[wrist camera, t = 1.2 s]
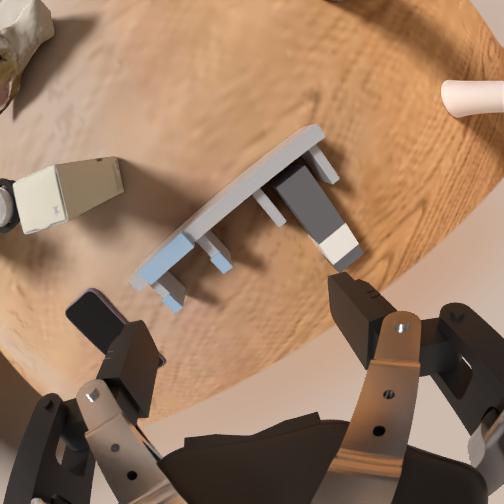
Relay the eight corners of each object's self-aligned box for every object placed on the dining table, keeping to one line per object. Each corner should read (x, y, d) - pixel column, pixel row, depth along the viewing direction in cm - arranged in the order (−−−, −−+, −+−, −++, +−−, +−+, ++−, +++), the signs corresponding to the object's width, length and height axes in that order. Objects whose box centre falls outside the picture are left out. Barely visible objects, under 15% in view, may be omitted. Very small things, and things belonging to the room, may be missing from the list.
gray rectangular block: (268, 183, 30) (276, 188, 26) (294, 163, 29) (305, 165, 26) (326, 260, 34) (339, 274, 30) (349, 242, 34) (364, 253, 30)
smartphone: (134, 380, 37) (62, 313, 31) (135, 375, 38) (65, 308, 32) (167, 362, 36) (91, 287, 30) (168, 357, 37) (93, 283, 32)
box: (117, 155, 27) (58, 160, 15) (125, 193, 28) (71, 221, 16) (78, 167, 26) (9, 182, 14) (86, 204, 28) (22, 237, 16)
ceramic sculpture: (44, 8, 12) (-32, 123, 15) (81, 29, 20) (11, 120, 23) (17, -19, 8) (-50, 81, 11) (50, 0, 16) (-13, 82, 19)
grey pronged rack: (300, 126, 28) (318, 121, 23) (332, 169, 30) (355, 174, 25) (139, 262, 31) (125, 284, 26) (174, 297, 33) (168, 324, 28)
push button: (55, 153, 25) (3, 158, 16) (75, 187, 27) (27, 205, 18) (24, 187, 26) (-26, 203, 16) (43, 220, 27) (-4, 245, 18)
